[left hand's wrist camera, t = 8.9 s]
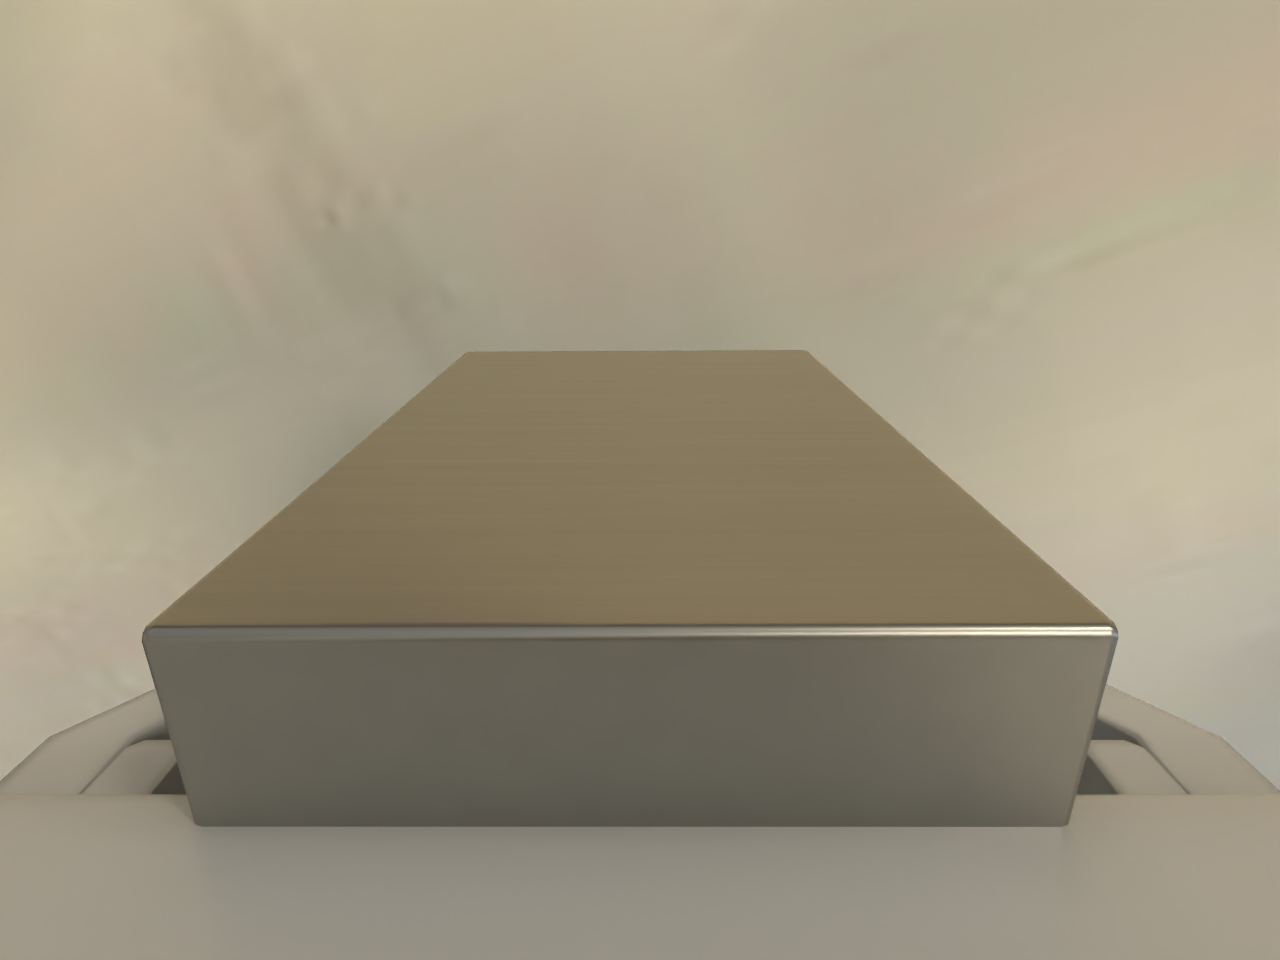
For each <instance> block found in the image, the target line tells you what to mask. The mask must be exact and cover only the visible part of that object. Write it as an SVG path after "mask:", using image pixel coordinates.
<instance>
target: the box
mask: <svg viewBox="0 0 1280 960" xmlns="http://www.w3.org/2000/svg"><path fill="white" fill-rule="evenodd" d="M1117 641H1118V632H1117V628H1116V626H1115V623H1114V622H1113V621H1111V620H1110V619H1109V618H1108V617H1107V616H1106V615H1105V614H1104V613H1102V612H1101V611H1100V610H1099V609H1098V608H1097V607H1096V606H1094V605H1093V604H1092V603H1091V602H1090V601H1089V600H1088V599H1087V598H1085V597H1084V596H1083V595H1082V594H1081V593H1080V592H1079V591H1078V590H1076V589H1075V588H1074V587H1073V586H1072V585H1071V584H1070V583H1068V582H1067V581H1066V580H1065V579H1064V578H1063V577H1062V576H1061V575H1059V574H1058V573H1057V572H1056V571H1055V570H1054V569H1053V568H1052V567H1050V566H1049V565H1048V564H1047V563H1046V562H1045V561H1044V560H1042V559H1041V558H1040V557H1039V556H1038V555H1037V554H1036V553H1035V552H1033V551H1032V550H1031V549H1030V548H1029V547H1028V546H1027V545H1026V544H1024V543H1023V542H1022V541H1021V540H1020V539H1019V538H1018V537H1016V536H1015V535H1014V534H1013V533H1012V532H1011V531H1010V530H1009V529H1007V528H1006V527H1005V526H1004V525H1003V524H1002V523H1001V522H1000V521H998V520H997V519H996V518H995V517H994V516H993V515H992V514H990V513H989V512H988V511H987V510H986V509H985V508H984V507H983V506H981V505H980V504H979V503H978V502H977V501H976V500H975V499H974V498H972V497H971V496H970V495H969V494H968V493H967V492H966V491H964V490H963V489H962V488H961V487H960V486H959V485H958V484H957V483H955V482H954V481H953V480H952V479H951V478H950V477H949V476H947V475H946V474H945V473H944V472H943V471H942V470H941V469H940V468H938V467H937V466H936V465H935V464H934V463H933V462H932V461H931V460H929V459H928V458H927V457H926V456H925V455H924V454H923V453H921V452H920V451H919V450H918V449H917V448H916V447H915V446H914V445H912V444H911V443H910V442H909V441H908V440H907V439H906V438H905V437H903V436H902V435H901V434H900V433H899V432H898V431H897V430H895V429H894V428H893V427H892V426H891V425H890V424H889V423H888V422H886V421H885V420H884V419H883V418H882V417H881V416H880V415H879V414H877V413H876V412H875V411H874V410H873V409H872V408H871V407H869V406H868V405H867V404H866V403H865V402H864V401H863V400H862V399H860V398H859V397H858V396H857V395H856V394H855V393H854V392H853V391H851V390H850V389H849V388H848V387H847V386H846V385H845V384H843V383H842V382H841V381H840V380H839V379H838V378H837V377H836V376H834V375H833V374H832V373H831V372H830V371H829V370H828V369H827V368H825V367H824V366H823V365H822V364H821V363H820V362H819V361H817V360H816V359H815V358H814V357H813V356H812V355H811V354H810V353H808V352H807V351H805V350H753V351H542V352H468V353H466V354H464V355H463V356H462V357H461V358H460V359H459V360H457V361H456V362H455V363H454V364H453V365H451V366H450V367H449V368H448V369H447V370H446V371H444V372H443V373H442V374H441V375H440V376H439V377H437V378H436V379H435V380H434V381H433V382H432V383H430V384H429V385H428V386H427V387H426V388H425V389H423V390H422V391H421V392H420V393H419V394H418V395H416V396H415V397H414V398H413V399H412V400H411V401H409V402H408V403H407V404H406V405H405V406H404V407H402V408H401V409H400V410H399V411H398V412H397V413H395V414H394V415H393V416H392V417H391V418H390V419H388V420H387V421H386V422H385V423H384V424H383V425H381V426H380V427H379V428H378V429H377V430H375V431H374V432H373V433H372V434H371V435H370V436H368V437H367V438H366V439H365V440H364V441H363V442H361V443H360V444H359V445H358V446H357V447H356V448H354V449H353V450H352V451H351V452H350V453H349V454H347V455H346V456H345V457H344V458H343V459H342V460H340V461H339V462H338V463H337V464H336V465H335V466H333V467H332V468H331V469H330V470H329V471H328V472H326V473H325V474H324V475H323V476H322V477H321V478H319V479H318V480H317V481H316V482H315V483H314V484H312V485H311V486H310V487H309V488H308V489H307V490H305V491H304V492H303V493H302V494H301V495H299V496H298V497H297V498H296V499H295V500H294V501H292V502H291V503H290V504H289V505H288V506H287V507H285V508H284V509H283V510H282V511H281V512H280V513H278V514H277V515H276V516H275V517H274V518H273V519H271V520H270V521H269V522H268V523H267V524H266V525H264V526H263V527H262V528H261V529H260V530H259V531H257V532H256V533H255V534H254V535H253V536H252V537H250V538H249V539H248V540H247V541H246V542H245V543H243V544H242V545H241V546H240V547H239V548H238V549H236V550H235V551H234V552H233V553H232V554H231V555H229V556H228V557H227V558H226V559H225V560H223V561H222V562H221V563H220V564H219V565H218V566H216V567H215V568H214V569H213V570H212V571H211V572H209V573H208V574H207V575H206V576H205V577H204V578H202V579H201V580H200V581H199V582H198V583H197V584H195V585H194V586H193V587H192V588H191V589H190V590H188V591H187V592H186V593H185V594H184V595H183V596H181V597H180V598H179V599H178V600H177V601H176V602H174V603H173V604H172V605H171V606H170V607H169V608H167V609H166V610H165V611H164V612H163V613H162V614H160V615H159V616H158V617H157V618H156V619H155V620H153V621H152V622H151V623H150V624H149V625H147V626H146V628H145V630H144V632H143V636H142V643H143V647H144V650H145V654H146V657H147V661H148V664H149V667H150V671H151V674H152V678H153V681H154V685H155V688H156V691H157V695H158V698H159V702H160V705H161V709H162V712H163V716H164V719H165V722H166V726H167V729H168V733H169V736H170V740H171V743H172V746H173V750H174V753H175V757H176V760H177V764H178V767H179V771H180V774H181V777H182V781H183V784H184V788H185V791H186V795H187V798H188V801H189V805H190V808H191V812H192V815H193V819H194V822H195V824H196V825H199V826H202V827H1062V826H1065V825H1068V824H1069V820H1070V816H1071V812H1072V809H1073V805H1074V801H1075V797H1076V794H1077V790H1078V786H1079V783H1080V779H1081V775H1082V771H1083V768H1084V764H1085V760H1086V756H1087V753H1088V749H1089V745H1090V741H1091V738H1092V734H1093V730H1094V726H1095V723H1096V719H1097V715H1098V712H1099V708H1100V704H1101V700H1102V697H1103V693H1104V689H1105V685H1106V682H1107V678H1108V674H1109V670H1110V667H1111V663H1112V659H1113V655H1114V652H1115V648H1116V644H1117Z"/></svg>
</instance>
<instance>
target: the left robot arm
mask: <svg viewBox="0 0 1280 960" xmlns="http://www.w3.org/2000/svg"><path fill="white" fill-rule="evenodd" d="M0 960H1280V791H1279V790H1278V789H1277V788H1276V787H1275V786H1274V785H1273V784H1272V783H1271V782H1270V781H1268V780H1267V779H1266V778H1265V777H1264V776H1263V775H1262V774H1261V773H1260V772H1259V771H1258V770H1257V769H1255V768H1254V767H1253V766H1252V765H1251V764H1250V763H1249V762H1248V761H1247V760H1246V759H1245V758H1244V757H1242V756H1241V755H1240V754H1239V753H1238V752H1237V751H1236V750H1235V749H1234V748H1233V747H1232V746H1231V745H1229V744H1228V743H1227V742H1226V741H1225V740H1224V739H1223V738H1221V737H1219V736H1217V735H1215V734H1213V733H1210V732H1208V731H1206V730H1204V729H1202V728H1199V727H1197V726H1195V725H1193V724H1191V723H1189V722H1186V721H1184V720H1182V719H1180V718H1178V717H1176V716H1173V715H1171V714H1169V713H1167V712H1165V711H1163V710H1160V709H1158V708H1156V707H1154V706H1152V705H1149V704H1147V703H1145V702H1143V701H1141V700H1139V699H1136V698H1134V697H1132V696H1130V695H1128V694H1126V693H1123V692H1121V691H1119V690H1117V689H1115V688H1113V687H1110V686H1108V685H1105V689H1104V693H1103V697H1102V700H1101V704H1100V708H1099V712H1098V715H1097V719H1096V723H1095V726H1094V730H1093V734H1092V738H1091V741H1090V745H1089V749H1088V753H1087V756H1086V760H1085V764H1084V768H1083V771H1082V775H1081V779H1080V783H1079V786H1078V790H1077V794H1076V797H1075V801H1074V805H1073V809H1072V812H1071V816H1070V820H1069V824H1068V825H1065V826H1062V827H202V826H199V825H196V824H195V822H194V819H193V815H192V812H191V808H190V805H189V801H188V798H187V795H186V791H185V788H184V784H183V781H182V777H181V774H180V771H179V767H178V764H177V760H176V757H175V753H174V750H173V746H172V743H171V740H170V736H169V733H168V729H167V726H166V722H165V719H164V716H163V712H162V709H161V705H160V702H159V698H158V695H157V691H156V689H154V690H152V691H149V692H147V693H145V694H143V695H141V696H138V697H136V698H134V699H132V700H130V701H127V702H125V703H123V704H121V705H119V706H116V707H114V708H112V709H110V710H108V711H105V712H103V713H101V714H99V715H97V716H94V717H92V718H90V719H88V720H86V721H83V722H81V723H79V724H77V725H75V726H72V727H70V728H68V729H66V730H64V731H61V732H59V733H57V734H55V735H53V736H50V737H49V738H48V739H46V740H45V741H44V742H43V743H42V744H41V745H40V746H39V747H38V748H36V749H35V750H34V751H33V752H32V753H31V754H30V755H29V756H28V757H26V758H25V759H24V760H23V761H22V762H21V763H20V764H19V765H18V766H17V767H15V768H14V769H13V770H12V771H11V772H10V773H9V774H8V775H7V776H5V777H4V778H3V779H2V780H1V781H0Z"/></svg>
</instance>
